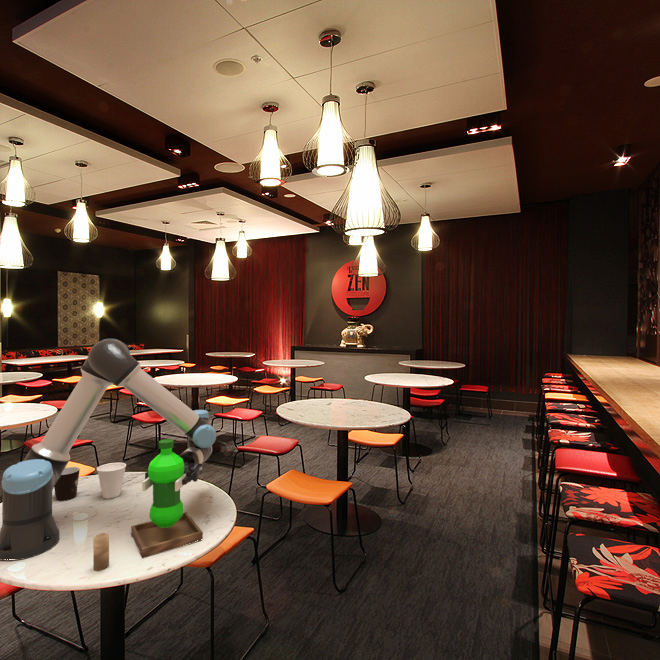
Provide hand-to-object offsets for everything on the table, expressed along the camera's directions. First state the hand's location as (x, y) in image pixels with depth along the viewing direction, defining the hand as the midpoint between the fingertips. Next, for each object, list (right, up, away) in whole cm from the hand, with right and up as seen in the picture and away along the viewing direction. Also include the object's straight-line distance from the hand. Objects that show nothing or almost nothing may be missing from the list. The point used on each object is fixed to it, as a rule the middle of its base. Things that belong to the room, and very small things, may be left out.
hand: (159, 486), depth 119 cm
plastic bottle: (0, -13, +5) cm, 14 cm away
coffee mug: (-49, -17, +35) cm, 63 cm away
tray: (0, -17, +4) cm, 17 cm away
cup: (-33, -17, +36) cm, 51 cm away
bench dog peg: (-11, -17, -11) cm, 23 cm away
